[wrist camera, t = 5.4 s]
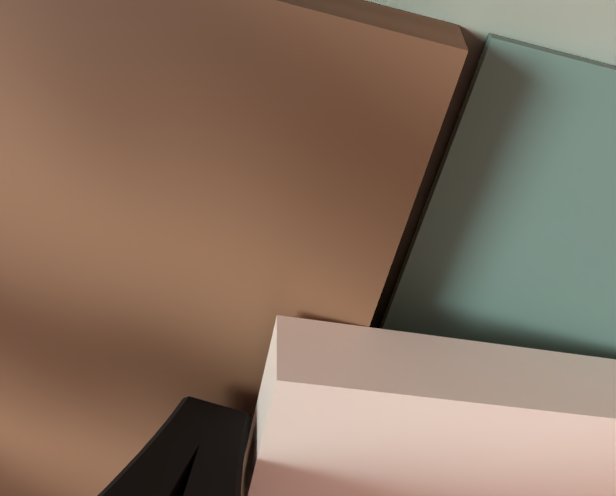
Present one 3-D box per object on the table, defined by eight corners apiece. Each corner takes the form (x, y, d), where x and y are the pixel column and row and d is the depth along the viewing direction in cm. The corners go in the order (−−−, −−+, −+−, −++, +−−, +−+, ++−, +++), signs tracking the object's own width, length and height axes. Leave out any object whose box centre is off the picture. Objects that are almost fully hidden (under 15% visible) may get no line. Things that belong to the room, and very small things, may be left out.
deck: (278, 552, 17) (263, 620, 16) (-83, 445, 18) (-135, 501, 16) (459, 25, 9) (468, 50, 7) (-238, -157, 9) (-382, -173, 8)
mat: (622, 654, 17) (626, 669, 17) (293, 557, 17) (291, 570, 17) (1150, 206, 9) (1180, 218, 8) (489, 33, 9) (491, 38, 9)
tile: (586, 541, 14) (616, 605, 13) (231, 513, 13) (226, 582, 12) (730, 374, 11) (788, 437, 10) (277, 314, 10) (276, 380, 8)
